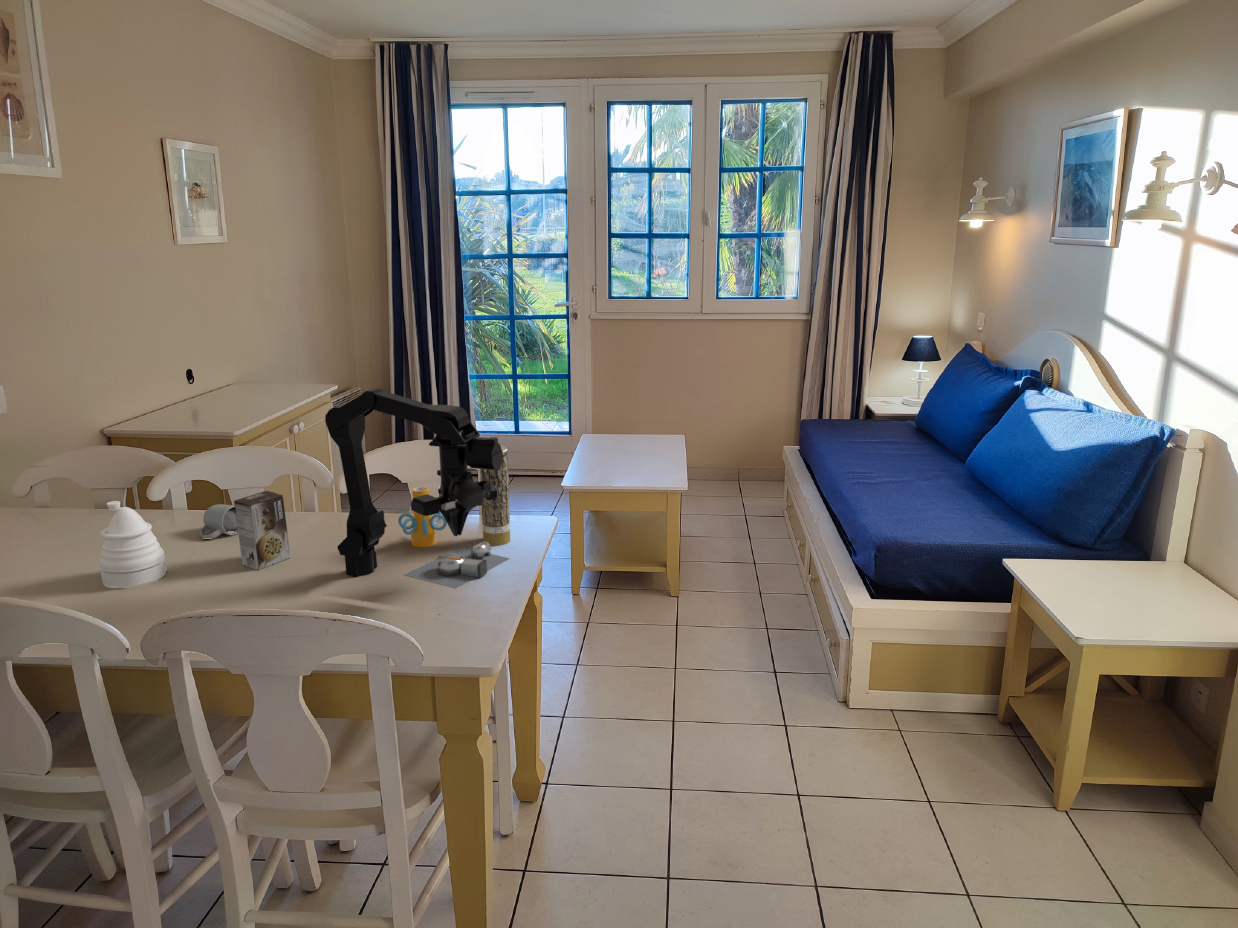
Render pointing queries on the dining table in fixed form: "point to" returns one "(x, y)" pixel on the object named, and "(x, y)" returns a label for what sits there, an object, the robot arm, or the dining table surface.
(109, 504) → the honey pot
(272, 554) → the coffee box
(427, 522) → the cylinder
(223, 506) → the ceramic mug
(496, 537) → the bark covered log
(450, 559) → the dial knob with block
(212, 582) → the dining table surface
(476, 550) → the duct stub
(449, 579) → the mat
